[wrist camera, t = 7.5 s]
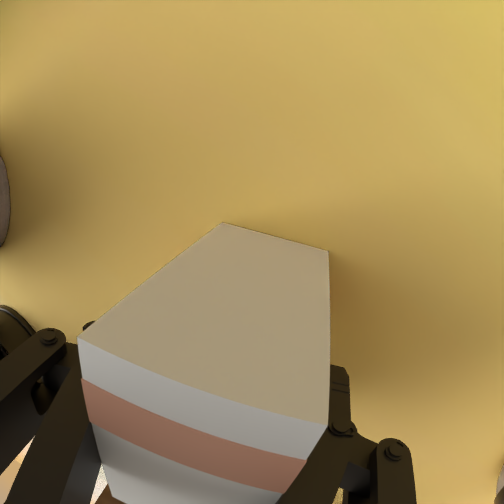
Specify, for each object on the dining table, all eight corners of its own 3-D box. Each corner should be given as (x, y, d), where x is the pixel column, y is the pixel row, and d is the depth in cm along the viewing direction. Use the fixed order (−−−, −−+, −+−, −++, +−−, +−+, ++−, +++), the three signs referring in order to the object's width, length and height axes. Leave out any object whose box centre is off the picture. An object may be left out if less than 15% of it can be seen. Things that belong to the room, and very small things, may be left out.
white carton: (221, 222, 15) (74, 337, 6) (328, 251, 14) (329, 427, 5) (198, 356, 18) (111, 497, 8) (283, 382, 17) (242, 545, 8)
